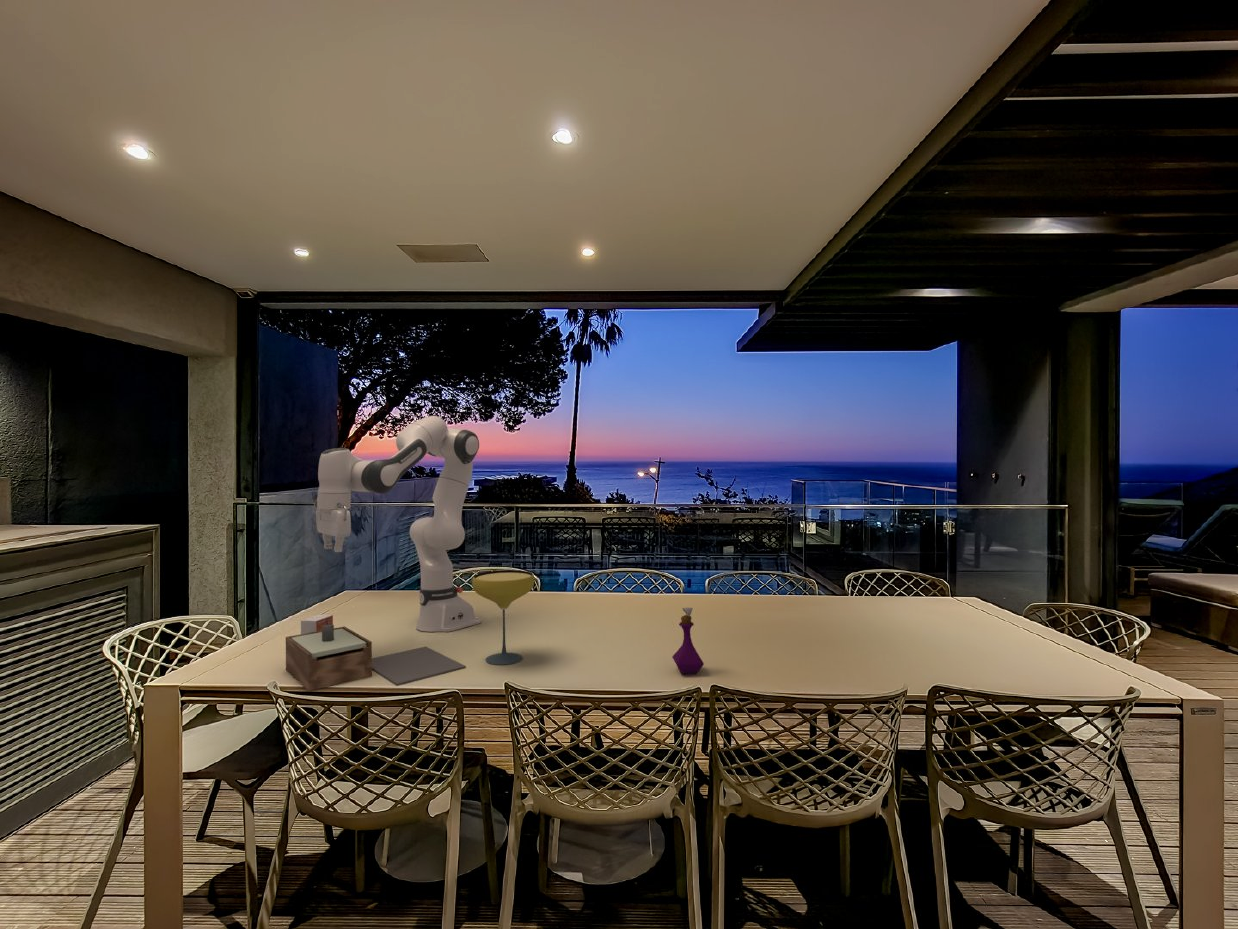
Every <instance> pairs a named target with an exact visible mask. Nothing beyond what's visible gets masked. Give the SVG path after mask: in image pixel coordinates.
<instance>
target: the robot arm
mask: <svg viewBox="0 0 1238 929" xmlns="http://www.w3.org/2000/svg"><path fill="white" fill-rule="evenodd" d="M395 442H396V443H395V444H396V445H395V446H396V448H397V451H398V452H396V453H394V454H393V455H392V456H391V457H389V458H386V459H375V460H371V459H369V460H368V459H367V460H366V459H365V460H363V458H360V457H358V456H356V455H355V454H354V453H352V452H351V451H350V449H349V448H346V447H338V448H329V449H326V450H324V451H322V452H321V454H320V457H319V460H318V461H319V462H318V469H317V470H318V472H317V476H318V478H317V479H318V483H319V486H318V490H317V498H316V500H315V501H314V502H313V503H314V504H313V507H314V508H315V509H316V511H315V522H316V530H317V532H318V533H319V534H322V539H323V548H324V549H325V550H331V549H332V548H333V551H334V552H335V553H342V552H343V545H344V542H345V538H347V537H351V533H352V521H351V519H352V518H351V512H350V509H351V501H352V500H351V499H352V498H351V497H352V496H351V495H352V492H360V493H361V492H362V493H375V494H381V495H382V494H383V495H384V494H387V493H389V492H390V491H392V490H393V489H394V488H395V486H396V485H397V483H398V482H399V481H400V479H401V478H402V476H404V475H405V474H406V473H407V472H408V471H410V469H412V468H413V467H415V466H416V465H417V464H418V463H419V462H420V461H421V460H422V459H423V458H424V457H425V456H426V455H430V456H433V457H439V458H443V459H444V465H443V467H442V470H441V472H440V474H439V477H438V480H437V484H436V486H435V488H434V492H433V495H432V502H433V505H434V507H433V508H434V509H433V510H434V511H433V516H426V517H421V518H418V519H416V520H414V521H413V523H412V524H411V526H410V527H409V536H410V539H411V541H412V542H413V543H414V547H415V549H416V553H417V557H418V562H419V565H420V566H419V567H420V587H419V599H418V600H419V604H420V608H419V615H418V621H417V624H416V630H418V631H422V632H430V633H431V632H432V633H433V632H445V633H448V632H449V633H450V632H453V631H457V630H460V629H463V628H467V627H471V626H475V625H478V624H481V623H482V620H481V618H480V617H478V616H476V615H475V611H474V607H473V605H472V604H471V603H469V602H468V601H466V600H465V599H463V598H462V597H461V596H459V594H462V593H463V591H464V588H463V587H461V586H455V585H454V568H453V567H454V565H453V562H452V561H451V560H450V558H449V555H448V553H447V551H449V550H455V549H457V548H459V547H460V546H461V545H462V544H463V542H464V540H465V538H466V537H465V536H466V535H465V534H466V532H465V528H464V527H463V523H462V517H463V516H462V513H463V505H464V502H465V500H466V496H467V493H468V490H469V486H470V484H471V480H472V475H473V469H474V462H473V460H474V459H475V457H476V456H477V454H478V452H479V448H480V441H479V438H478V435H477V434H476V433H475V432H473V431H471V430H468V429H461V428H454V427H448V426H447V423H446V422H445V421H444V420H443V418H441V417H439V416H437V415H429V416H426V417H424V418H421V419H418V420H416V421H415V422H413V423H411V424H409V425H408V426H405V428H403V429H402V430H401V431H400V432H399V433H398V434H397V435H396V439H395ZM332 537H334V540H335V543H334V546H333V542H332ZM458 593H459V594H458Z"/></svg>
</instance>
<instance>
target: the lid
mask: <svg viewBox="0 0 1238 929" xmlns="http://www.w3.org/2000/svg"><path fill="white" fill-rule="evenodd" d="M334 628H335V625H334V623H333V624H328V625H323V626H322V632H319V633H314V634H308V635H303V636H297V637H292V638H291V639H292V640H294V641H295V642H296V643H298V644H299V645H300V646H302V647H303V648H304V649H306V650H307V651H308V652H309V653H311V658H315V657H320V656H325V655H330V654H335V653H340V652H344V651H349V650H354V649H359V648H364V647H366V642H364V641H363V640H361V639H359V638H357V637H356V636H354V635H352V634H351V633H349V632H347V631H345V630H344V629H336V630H334Z"/></svg>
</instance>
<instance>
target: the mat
mask: <svg viewBox="0 0 1238 929" xmlns="http://www.w3.org/2000/svg"><path fill="white" fill-rule="evenodd" d="M466 667H467V666H466V665H464V664H463V663H461V662H459V661H456V660H454V659H453V658H451V657H448V656H446V655H444V654H442V653H440V652H438V651H436V650H435V649H432V648H430V647H428V646H421V647H417V648H412V649H408V650H403V651H399V652H394V653H390V654H385V655H380V656H376V657H372V671H374V672H375V673H377V674H379V675H380V676H381V677H383V678H385V679H386V680H387V681H388V682H390V683H392V684H394V685H395V686H396V687H397V686H401V685H405V684H408V683H413V682H417V681H421V680H424V679H428V678H431V677H436V676H439V675H445V674H448V673H451V672H455V671H459V670H462V669H467V668H466Z"/></svg>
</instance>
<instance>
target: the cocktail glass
mask: <svg viewBox="0 0 1238 929" xmlns="http://www.w3.org/2000/svg"><path fill="white" fill-rule="evenodd" d="M471 582H472V583H471V584H472V589H473V591H474V592H475V593H476V594H477V595H479V596H481V597H482V598H485V599H487V600H489V601H491V602H493V603H495V604H496V605H497V606H498V608H499V609H500V610H502V648H501V652H500V653H499V652H498V653H495V654H491V655H489V656H487V657H485V662H486V663H487V664H490V665H494V666H508V665H513V664H514V665H515V664H517V663H520V662H521V661H522V660H523V656H522V654H520V653H517V652H507V648H506V647H507V646H506V610H507V609H508V608H509V607H510V605H511V604H512V602H514V601H516V600H517V599H520V598H521V597H523V596H525V595H526V594H528V593H529V592H530V591H531V590H533V588H534V585H535V575H534V573H533V572H531V571H528V570H519V569H517V570H515V569H507V570H506V569H505V570H502V569H501V570H491V571H484V572H480V573H479V572H478V573H477V574H475V575H473V577H472V580H471Z"/></svg>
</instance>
